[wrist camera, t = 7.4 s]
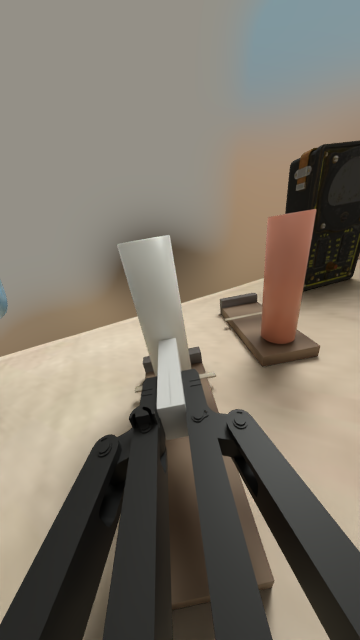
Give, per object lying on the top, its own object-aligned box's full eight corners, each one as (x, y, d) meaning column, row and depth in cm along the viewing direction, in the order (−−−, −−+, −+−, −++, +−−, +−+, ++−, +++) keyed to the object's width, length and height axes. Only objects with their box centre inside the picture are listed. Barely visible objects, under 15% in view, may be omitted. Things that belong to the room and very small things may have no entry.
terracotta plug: (302, 340, 22) (328, 207, 15) (271, 346, 22) (283, 214, 15) (282, 325, 25) (296, 212, 19) (255, 330, 25) (260, 218, 19)
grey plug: (195, 386, 18) (171, 235, 12) (156, 394, 18) (110, 245, 11) (189, 361, 21) (168, 234, 15) (157, 367, 21) (122, 243, 15)
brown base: (325, 354, 22) (331, 333, 20) (254, 368, 21) (255, 348, 20) (258, 305, 36) (259, 291, 35) (215, 313, 36) (215, 299, 35)
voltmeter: (301, 294, 38) (327, 139, 27) (272, 285, 46) (283, 161, 34) (358, 279, 41) (403, 131, 29) (322, 272, 48) (347, 153, 37)
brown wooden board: (291, 582, 9) (300, 567, 7) (110, 624, 8) (86, 616, 7) (208, 363, 23) (206, 345, 22) (141, 376, 23) (135, 358, 22)
